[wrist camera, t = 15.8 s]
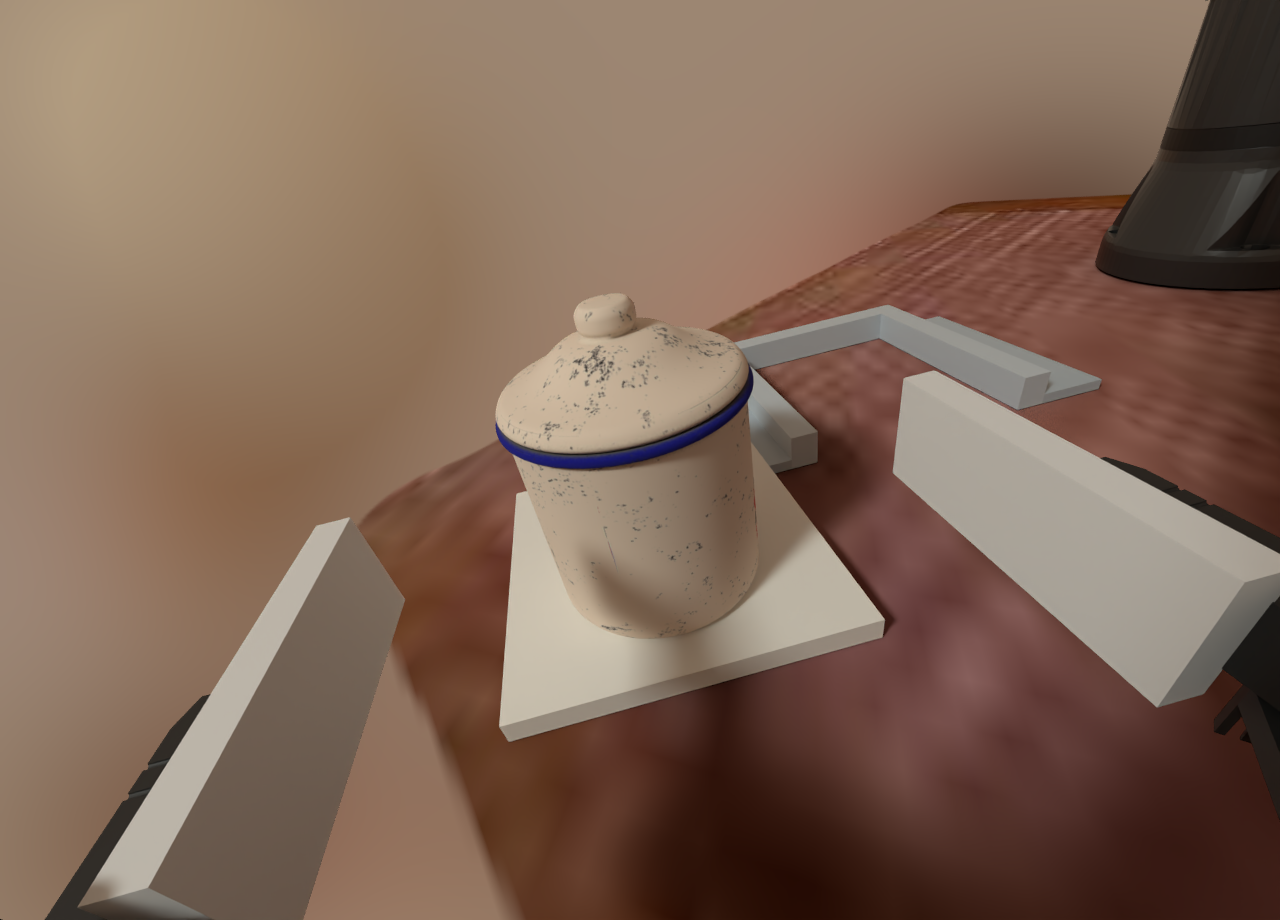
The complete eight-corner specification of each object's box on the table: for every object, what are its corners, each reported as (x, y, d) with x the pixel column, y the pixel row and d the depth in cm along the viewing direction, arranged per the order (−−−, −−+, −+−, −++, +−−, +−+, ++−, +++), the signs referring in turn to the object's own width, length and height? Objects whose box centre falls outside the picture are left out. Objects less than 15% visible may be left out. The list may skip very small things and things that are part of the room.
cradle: (925, 318, 41) (928, 294, 40) (1098, 388, 28) (1110, 356, 27) (671, 382, 40) (667, 359, 39) (731, 484, 27) (728, 454, 26)
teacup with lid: (811, 554, 20) (812, 267, 14) (643, 699, 17) (543, 390, 10) (640, 458, 29) (594, 254, 23) (503, 538, 25) (403, 318, 19)
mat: (747, 448, 30) (745, 434, 29) (882, 637, 18) (884, 619, 17) (522, 506, 29) (516, 493, 28) (509, 741, 17) (499, 726, 17)
